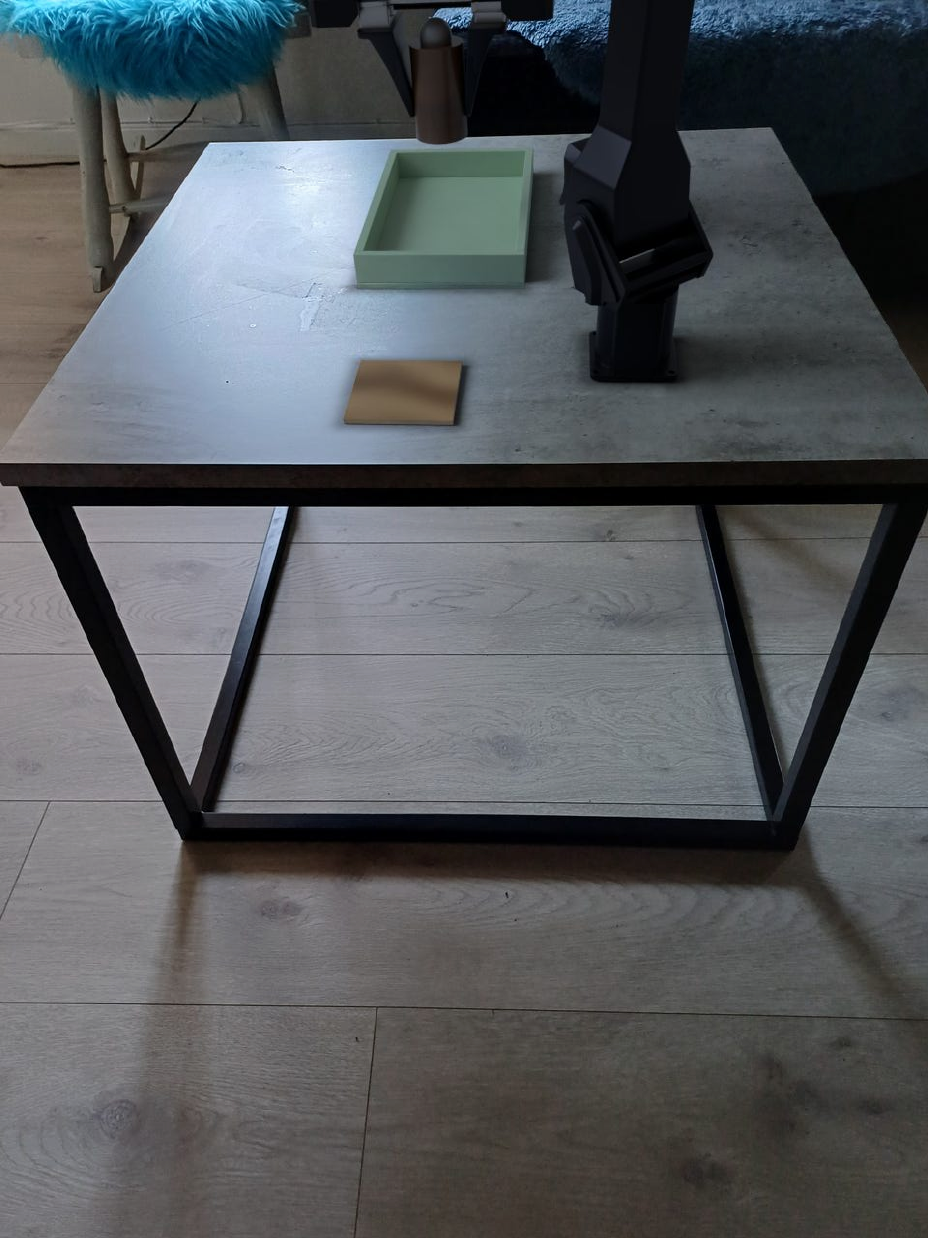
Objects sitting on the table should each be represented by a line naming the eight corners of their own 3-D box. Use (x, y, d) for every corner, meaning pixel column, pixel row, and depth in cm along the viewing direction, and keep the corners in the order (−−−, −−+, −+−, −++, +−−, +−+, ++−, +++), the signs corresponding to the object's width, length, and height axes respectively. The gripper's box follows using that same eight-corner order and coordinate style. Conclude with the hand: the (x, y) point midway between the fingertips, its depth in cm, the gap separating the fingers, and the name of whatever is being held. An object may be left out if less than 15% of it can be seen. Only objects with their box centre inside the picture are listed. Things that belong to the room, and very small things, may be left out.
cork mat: (453, 425, 67) (453, 420, 67) (343, 423, 68) (342, 418, 67) (462, 364, 73) (462, 360, 72) (361, 364, 73) (360, 359, 73)
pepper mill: (465, 144, 78) (459, 24, 72) (413, 145, 78) (402, 25, 72) (469, 125, 81) (464, 8, 75) (419, 126, 82) (410, 10, 75)
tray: (524, 289, 80) (524, 254, 78) (357, 288, 82) (352, 254, 80) (533, 178, 97) (533, 147, 94) (393, 180, 98) (390, 148, 96)
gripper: (558, -143, 72) (555, 81, 83) (321, -131, 74) (349, 87, 85) (554, -119, 64) (551, 125, 75) (290, -106, 66) (324, 130, 77)
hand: (440, 115), depth 79 cm, fingers closed on pepper mill, 4 cm apart
